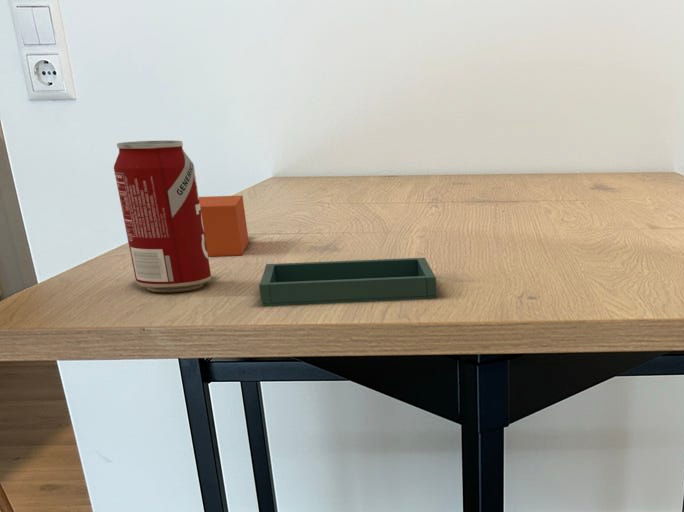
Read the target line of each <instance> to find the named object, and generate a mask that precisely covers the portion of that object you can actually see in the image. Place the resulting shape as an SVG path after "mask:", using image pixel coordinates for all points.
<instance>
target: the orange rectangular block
mask: <svg viewBox="0 0 684 512" xmlns="http://www.w3.org/2000/svg"><path fill="white" fill-rule="evenodd" d="M199 202H200V208H201V215H202V221H203V228H204V234H205V240H206V247H207V253H208V257H227V256H228V257H230V256H242V255H243V254H244V252H245V250H246V248H247V246H248V244H249V242H250V241H249V233H248V225H247V219H246V211H245V204H244V197H243V195H216V196H212V195H211V196H199Z"/></svg>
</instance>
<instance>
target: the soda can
mask: <svg viewBox="0 0 684 512" xmlns="http://www.w3.org/2000/svg"><path fill="white" fill-rule="evenodd" d="M116 147H117V148H118V154H117V157H116V159H115V163H114V164H113V172H114V177H115V182H116V187H117V191H118V196H119V203H120V207H121V212H122V218H123V222H124V227H125V234H126V237H127V243H128V247H129V252H130V257H131V262H132V268H133V273H134V278H135V283H136V284H137V285H138V286H141V287H144V288H146V290H148V291H149V292H153V293H161V294H162V293H163V294H164V293H165V294H167V293H168V294H170V293H171V294H172V293H183V292H190V291H195V290H198V289H201V288H202V287H204V284H205V283H207V282H209V281H210V280H211V279H212V273H211V267H210V261H209V256H208V253H207V247H206V240H205V234H204V228H203V221H202V215H201V208H200V202H199V197H200V195H199V190H198V184H197V177H196V171H195V164H194V163H193V161H192V160H191V158H190V157H189V155H187V153H186V151H185V150H184V148H183V147H184V142H183V141H182V140H138V141H137V140H136V141H124V142H117V143H116Z"/></svg>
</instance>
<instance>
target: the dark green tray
mask: <svg viewBox="0 0 684 512" xmlns="http://www.w3.org/2000/svg"><path fill="white" fill-rule="evenodd" d="M258 286H259V293H260V302H261V306H262V307H279V306H281V307H282V306H299V305H300V306H301V305H322V304H324V305H325V304H346V303H366V302H367V303H368V302H387V301H389V302H390V301H408V300H409V301H410V300H412V301H413V300H431V299H433V300H434V299H437V277H436V275H435V273H434V272H433V270H432V268H431V266H430V264H429V262H428V261H427V259H426V257H405V258H381V259H358V260H357V259H356V260H355V259H354V260H335V261H334V260H333V261H307V262H289V263H288V262H284V263H281V262H280V263H266V264H265V267H264V270H263V273H262V277H261V279H260V282H259V285H258Z"/></svg>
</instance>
